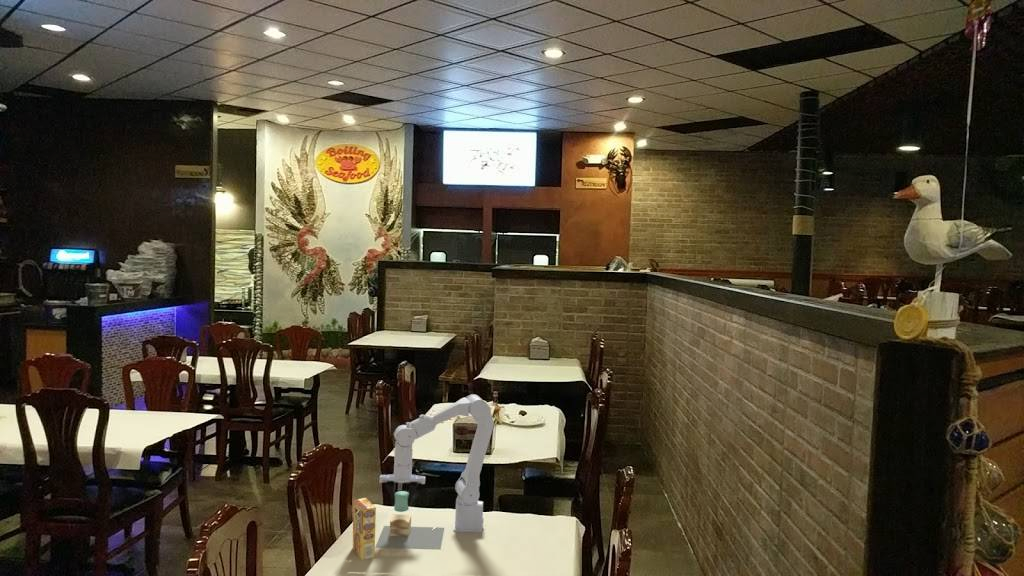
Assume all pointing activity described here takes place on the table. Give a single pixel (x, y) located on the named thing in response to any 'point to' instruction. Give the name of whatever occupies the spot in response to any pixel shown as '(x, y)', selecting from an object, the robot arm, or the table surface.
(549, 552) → the table surface
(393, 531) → the birch slab low
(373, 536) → the candy box
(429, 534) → the slate mat
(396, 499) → the green rounded knob
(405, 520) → the oak slab top
